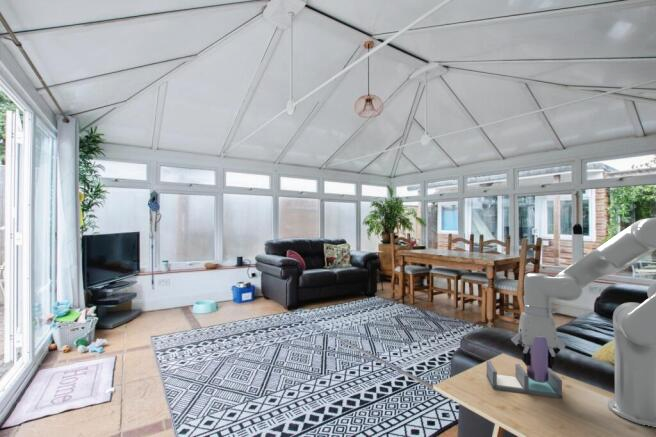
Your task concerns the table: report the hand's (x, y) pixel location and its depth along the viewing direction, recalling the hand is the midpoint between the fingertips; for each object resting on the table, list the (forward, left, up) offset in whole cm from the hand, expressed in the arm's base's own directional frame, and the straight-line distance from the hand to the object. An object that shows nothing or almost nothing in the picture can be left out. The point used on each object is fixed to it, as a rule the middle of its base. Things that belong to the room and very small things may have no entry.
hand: (537, 365), depth 103 cm
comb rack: (+5, 0, -8) cm, 9 cm away
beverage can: (0, 0, -5) cm, 5 cm away
